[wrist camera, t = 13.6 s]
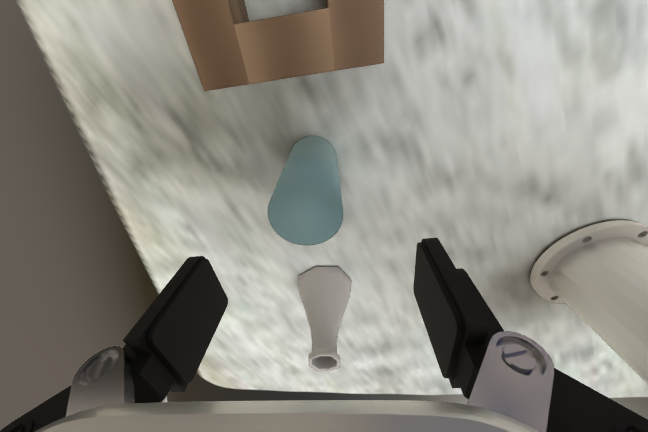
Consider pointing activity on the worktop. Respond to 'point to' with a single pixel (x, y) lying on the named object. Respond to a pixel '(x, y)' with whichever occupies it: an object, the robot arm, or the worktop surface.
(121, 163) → the worktop surface
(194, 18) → the walnut pocket block
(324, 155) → the teal peg
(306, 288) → the flask
